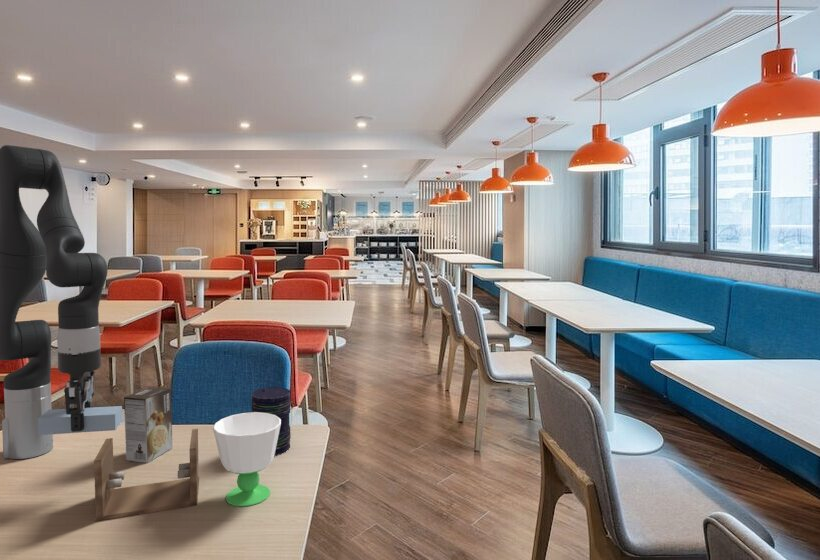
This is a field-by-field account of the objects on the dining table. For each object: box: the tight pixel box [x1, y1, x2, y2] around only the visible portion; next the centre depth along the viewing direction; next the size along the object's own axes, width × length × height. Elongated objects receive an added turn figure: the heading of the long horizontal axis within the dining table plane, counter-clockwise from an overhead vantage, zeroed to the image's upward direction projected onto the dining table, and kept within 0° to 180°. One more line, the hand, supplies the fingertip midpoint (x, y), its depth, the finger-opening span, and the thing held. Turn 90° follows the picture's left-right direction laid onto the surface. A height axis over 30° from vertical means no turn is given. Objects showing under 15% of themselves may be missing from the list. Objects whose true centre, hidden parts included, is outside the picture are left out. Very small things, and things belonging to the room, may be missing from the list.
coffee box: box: [123, 386, 173, 464], centre depth 124 cm, size 9×6×16 cm
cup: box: [212, 412, 281, 508], centre depth 105 cm, size 14×14×16 cm
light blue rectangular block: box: [38, 405, 123, 435], centre depth 105 cm, size 14×5×4 cm, turn 106°
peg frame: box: [93, 428, 200, 522], centre depth 103 cm, size 18×11×12 cm, turn 111°
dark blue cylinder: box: [250, 386, 292, 457], centre depth 129 cm, size 10×10×15 cm
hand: (81, 425), depth 105 cm, fingers closed on light blue rectangular block, 5 cm apart
